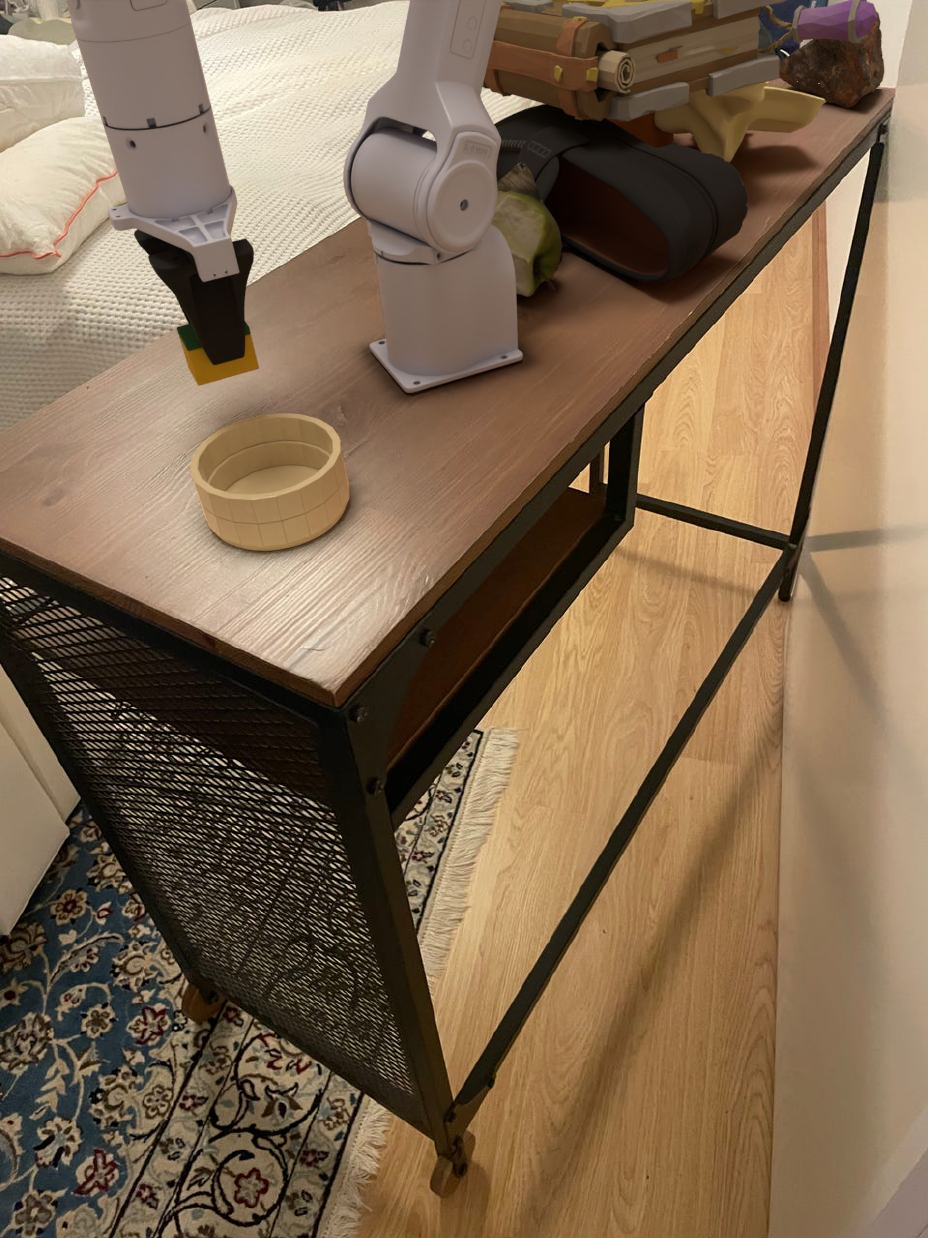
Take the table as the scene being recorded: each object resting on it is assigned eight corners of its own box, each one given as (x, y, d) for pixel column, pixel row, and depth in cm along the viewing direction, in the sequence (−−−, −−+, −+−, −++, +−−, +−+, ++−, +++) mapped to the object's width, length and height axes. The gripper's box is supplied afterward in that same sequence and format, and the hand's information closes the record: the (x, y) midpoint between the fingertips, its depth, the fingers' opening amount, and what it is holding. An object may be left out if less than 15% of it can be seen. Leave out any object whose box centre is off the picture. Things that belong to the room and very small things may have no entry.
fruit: (599, 215, 76) (570, 286, 73) (532, 272, 84) (504, 338, 81) (511, 138, 73) (477, 208, 69) (450, 205, 80) (417, 271, 77)
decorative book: (632, 155, 71) (633, -11, 64) (458, 95, 89) (444, -40, 82) (877, 75, 79) (901, -81, 71) (671, 34, 96) (674, -94, 89)
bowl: (324, 451, 64) (313, 398, 61) (371, 523, 57) (361, 469, 55) (193, 491, 61) (175, 438, 58) (227, 571, 55) (210, 517, 52)
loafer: (497, 81, 87) (402, 126, 82) (762, 151, 73) (670, 212, 68) (502, 186, 95) (415, 235, 89) (744, 269, 81) (659, 332, 75)
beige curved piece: (724, 61, 80) (711, 141, 82) (866, 104, 90) (852, 174, 92) (571, 95, 99) (563, 160, 100) (703, 127, 108) (694, 186, 110)
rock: (774, 109, 115) (842, 52, 114) (842, 163, 110) (915, 103, 108) (763, 17, 103) (839, -49, 102) (839, 72, 98) (921, 4, 96)
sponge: (248, 352, 62) (238, 310, 60) (259, 369, 60) (249, 326, 58) (188, 368, 61) (175, 326, 59) (198, 386, 59) (185, 343, 57)
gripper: (61, 95, 54) (135, 319, 63) (105, 168, 44) (185, 419, 54) (182, 71, 56) (237, 292, 65) (250, 136, 46) (303, 385, 55)
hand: (221, 348), depth 59 cm, fingers closed on sponge, 2 cm apart
